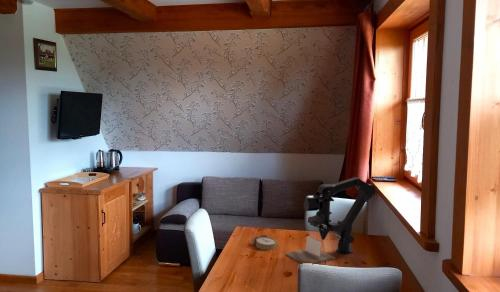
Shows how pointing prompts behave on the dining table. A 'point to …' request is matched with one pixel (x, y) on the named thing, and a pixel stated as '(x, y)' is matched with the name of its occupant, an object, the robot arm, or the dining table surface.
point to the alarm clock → (264, 242)
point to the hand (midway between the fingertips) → (323, 239)
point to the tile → (313, 246)
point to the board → (309, 256)
